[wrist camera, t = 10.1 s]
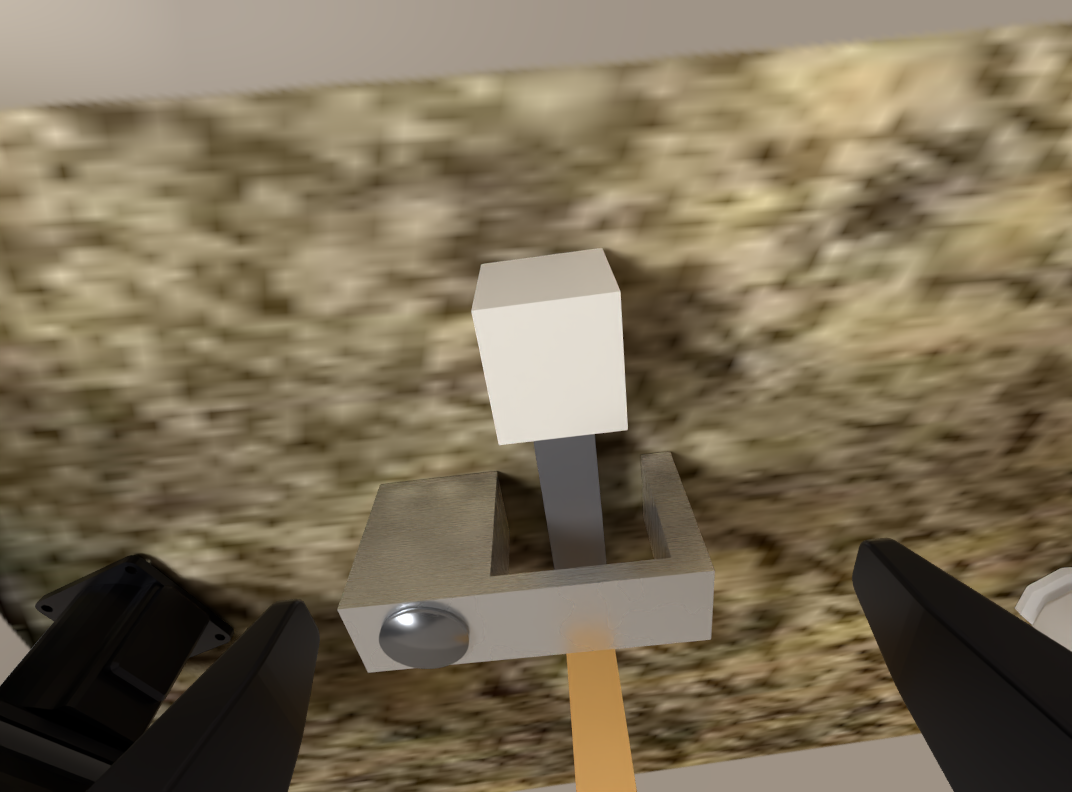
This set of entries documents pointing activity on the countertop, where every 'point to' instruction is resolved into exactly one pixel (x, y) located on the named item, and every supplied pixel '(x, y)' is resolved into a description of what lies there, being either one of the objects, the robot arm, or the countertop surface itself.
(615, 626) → the housing
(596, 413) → the multicoloured u-shaped piece
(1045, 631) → the cup
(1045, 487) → the countertop surface
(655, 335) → the countertop surface
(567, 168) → the countertop surface
